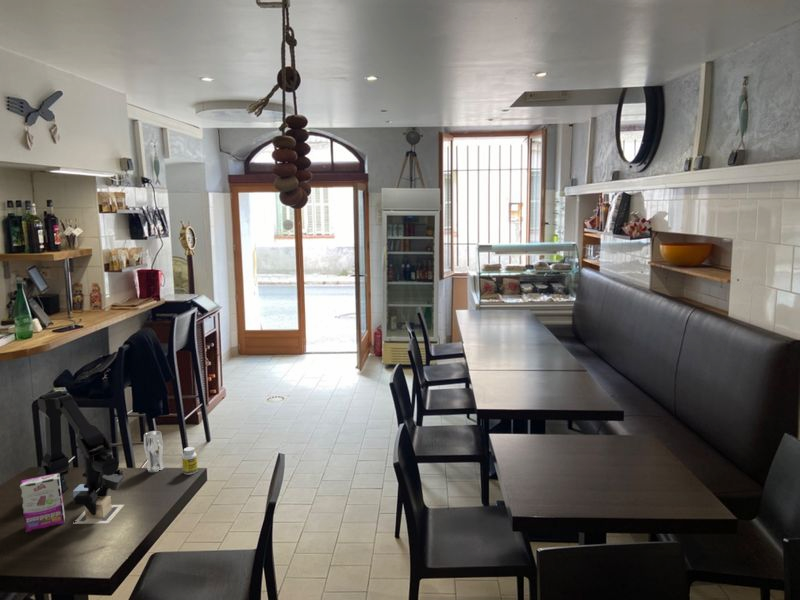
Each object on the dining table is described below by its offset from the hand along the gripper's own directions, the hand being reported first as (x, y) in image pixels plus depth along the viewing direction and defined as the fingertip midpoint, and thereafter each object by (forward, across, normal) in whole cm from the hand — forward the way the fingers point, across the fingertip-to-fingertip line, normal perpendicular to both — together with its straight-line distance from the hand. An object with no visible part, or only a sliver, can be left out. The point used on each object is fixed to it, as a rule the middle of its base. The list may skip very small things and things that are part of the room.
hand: (98, 510), depth 201 cm
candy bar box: (+2, -6, +15) cm, 16 cm away
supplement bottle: (+2, +31, -21) cm, 37 cm away
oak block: (+1, 0, 0) cm, 1 cm away
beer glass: (+2, +34, -6) cm, 35 cm away
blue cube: (+2, +10, +10) cm, 14 cm away
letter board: (+2, 0, 0) cm, 2 cm away
